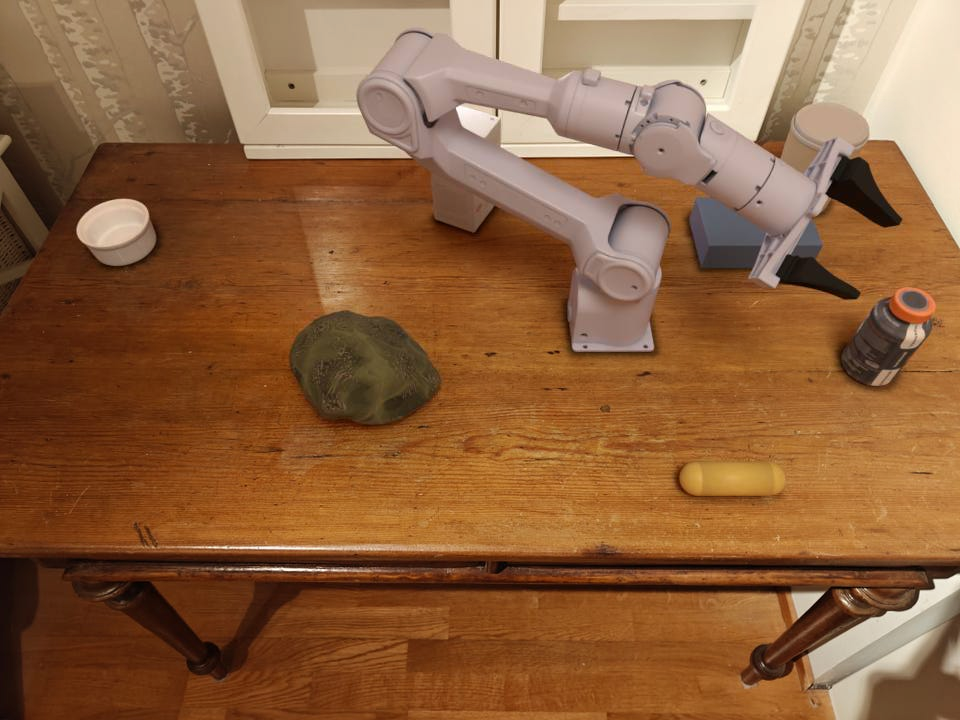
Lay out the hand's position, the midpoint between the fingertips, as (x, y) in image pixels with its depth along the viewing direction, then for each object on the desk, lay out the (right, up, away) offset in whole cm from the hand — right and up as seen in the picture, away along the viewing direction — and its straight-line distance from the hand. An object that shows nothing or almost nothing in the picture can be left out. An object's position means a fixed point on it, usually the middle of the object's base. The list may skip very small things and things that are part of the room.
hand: (872, 259), depth 64 cm
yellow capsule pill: (-11, -21, +5) cm, 24 cm away
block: (-1, +6, +27) cm, 28 cm away
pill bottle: (+8, -10, +16) cm, 20 cm away
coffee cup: (+8, +13, +33) cm, 36 cm away
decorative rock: (-49, -12, +15) cm, 53 cm away
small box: (-38, +11, +32) cm, 51 cm away
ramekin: (-83, +6, +28) cm, 88 cm away
